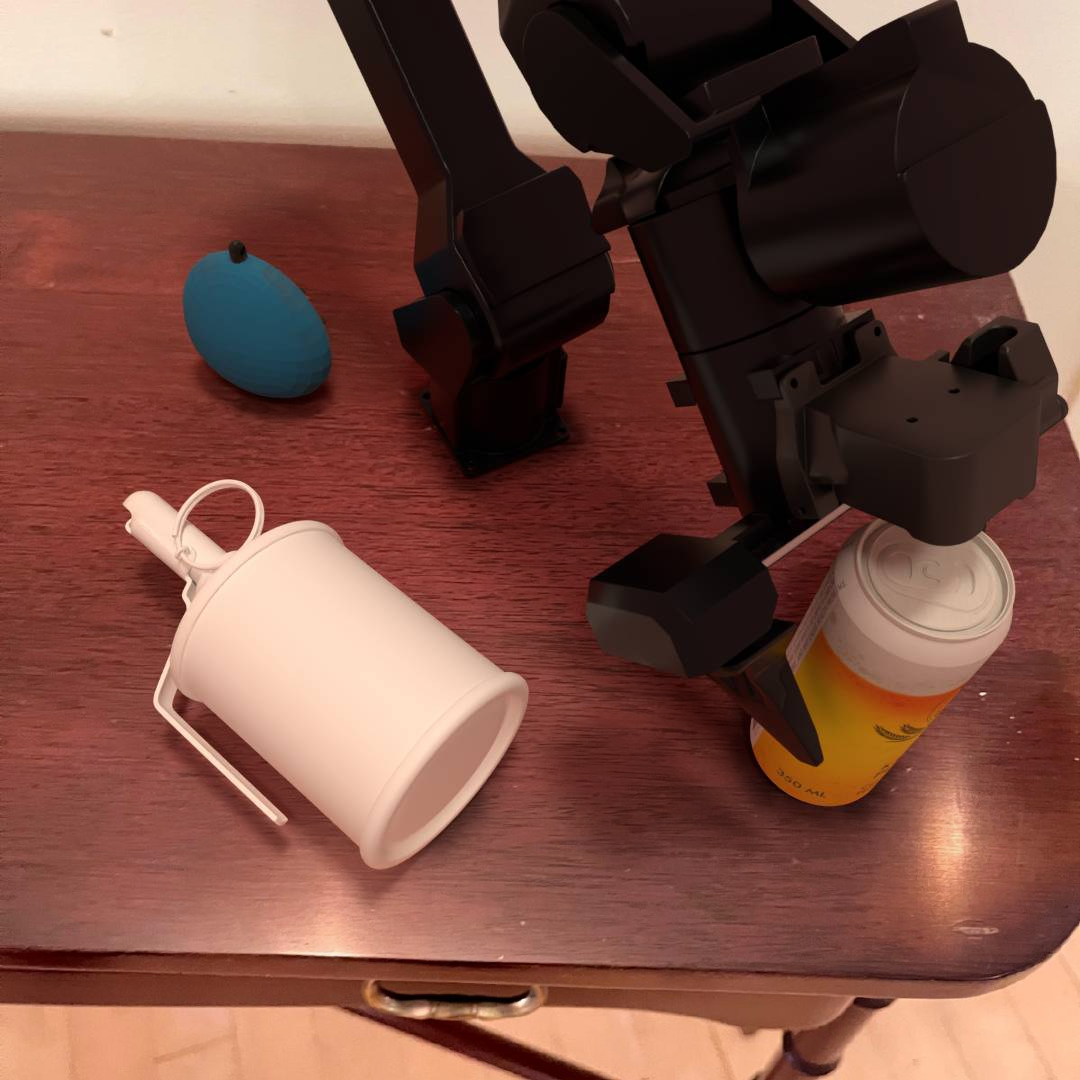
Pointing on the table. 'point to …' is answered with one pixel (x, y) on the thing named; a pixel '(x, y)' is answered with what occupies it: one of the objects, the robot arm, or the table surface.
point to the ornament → (255, 325)
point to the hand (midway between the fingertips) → (892, 694)
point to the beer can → (887, 653)
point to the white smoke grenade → (329, 677)
